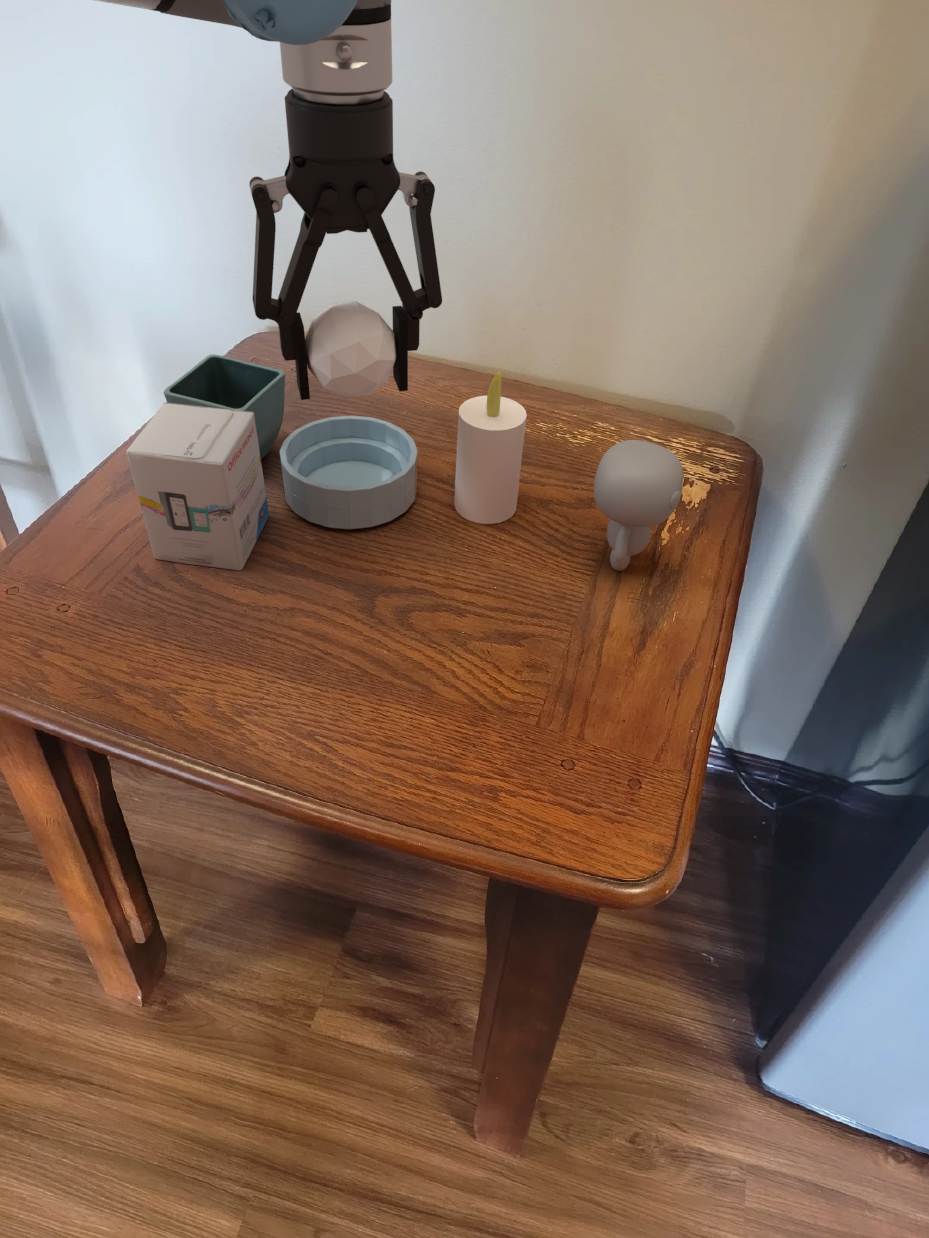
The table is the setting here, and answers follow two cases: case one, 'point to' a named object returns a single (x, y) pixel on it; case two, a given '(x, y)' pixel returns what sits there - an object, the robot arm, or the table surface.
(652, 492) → the figurine
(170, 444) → the ink box
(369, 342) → the geometric ball
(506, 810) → the table surface
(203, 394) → the flower pot
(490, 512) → the candle
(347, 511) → the bowl
